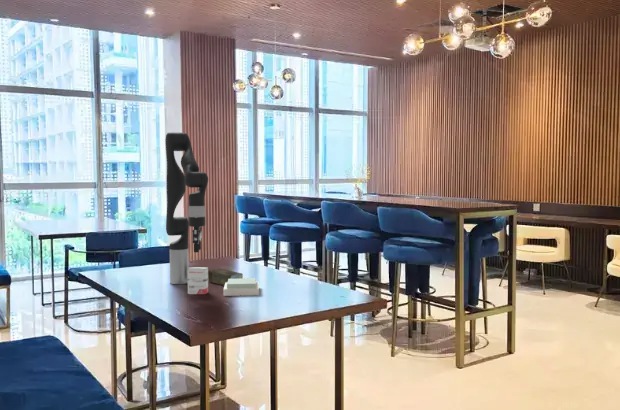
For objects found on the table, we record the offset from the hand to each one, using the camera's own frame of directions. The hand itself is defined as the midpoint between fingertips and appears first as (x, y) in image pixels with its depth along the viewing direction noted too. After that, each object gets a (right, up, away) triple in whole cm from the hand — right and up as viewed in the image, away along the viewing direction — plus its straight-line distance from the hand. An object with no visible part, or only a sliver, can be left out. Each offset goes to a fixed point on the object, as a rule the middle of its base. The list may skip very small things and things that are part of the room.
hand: (197, 251), depth 257 cm
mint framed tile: (+20, -19, +4) cm, 28 cm away
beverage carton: (+9, -19, +24) cm, 32 cm away
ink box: (0, -20, +1) cm, 20 cm away
